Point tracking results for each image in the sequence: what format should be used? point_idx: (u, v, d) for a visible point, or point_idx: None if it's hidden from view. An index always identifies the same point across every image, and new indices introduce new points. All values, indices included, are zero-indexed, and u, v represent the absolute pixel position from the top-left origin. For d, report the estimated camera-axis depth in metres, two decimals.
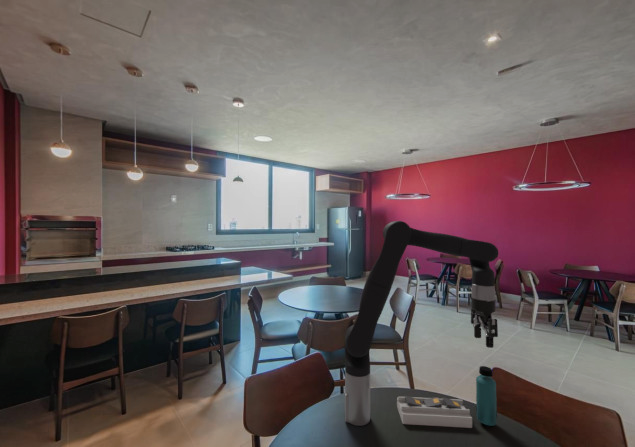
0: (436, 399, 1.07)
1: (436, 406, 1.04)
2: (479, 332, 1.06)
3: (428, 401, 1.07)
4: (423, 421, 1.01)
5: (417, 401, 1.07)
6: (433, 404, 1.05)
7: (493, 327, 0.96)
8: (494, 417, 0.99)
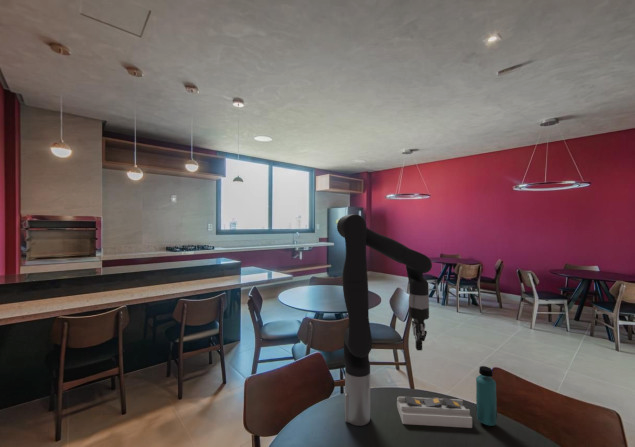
0: (436, 399, 1.07)
1: (436, 406, 1.04)
2: None
3: (428, 401, 1.07)
4: (423, 421, 1.01)
5: (417, 401, 1.07)
6: (433, 404, 1.05)
7: (422, 336, 1.07)
8: (494, 417, 0.99)
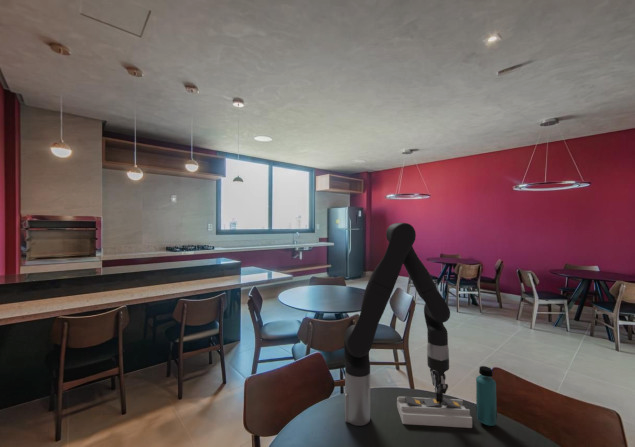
0: None
1: (436, 406, 1.04)
2: None
3: (428, 401, 1.07)
4: (423, 421, 1.01)
5: (417, 401, 1.07)
6: (433, 404, 1.05)
7: (443, 390, 1.01)
8: (494, 417, 0.99)
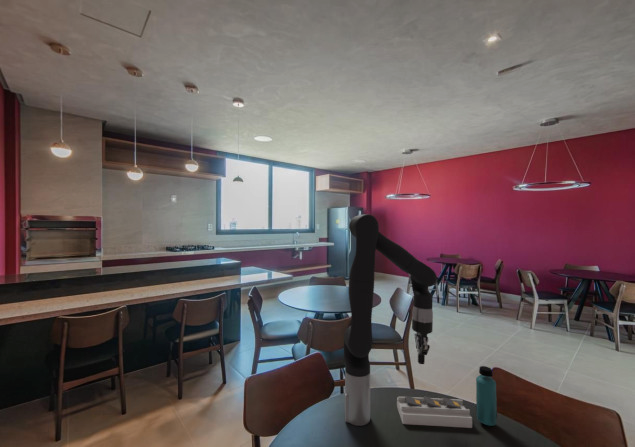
0: (436, 402, 1.07)
1: (436, 407, 1.04)
2: None
3: (429, 399, 1.07)
4: (423, 421, 1.01)
5: (417, 401, 1.07)
6: (434, 404, 1.05)
7: (424, 350, 1.06)
8: (494, 417, 0.99)
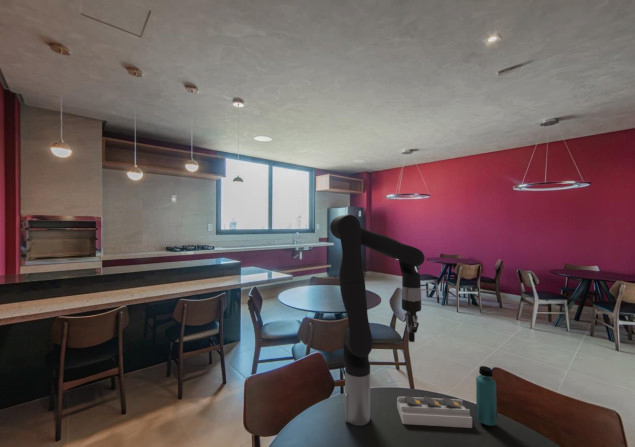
0: (436, 402, 1.07)
1: (436, 407, 1.04)
2: None
3: (429, 399, 1.07)
4: (423, 421, 1.01)
5: (417, 401, 1.07)
6: (434, 404, 1.05)
7: (414, 328, 1.09)
8: (494, 417, 0.99)
